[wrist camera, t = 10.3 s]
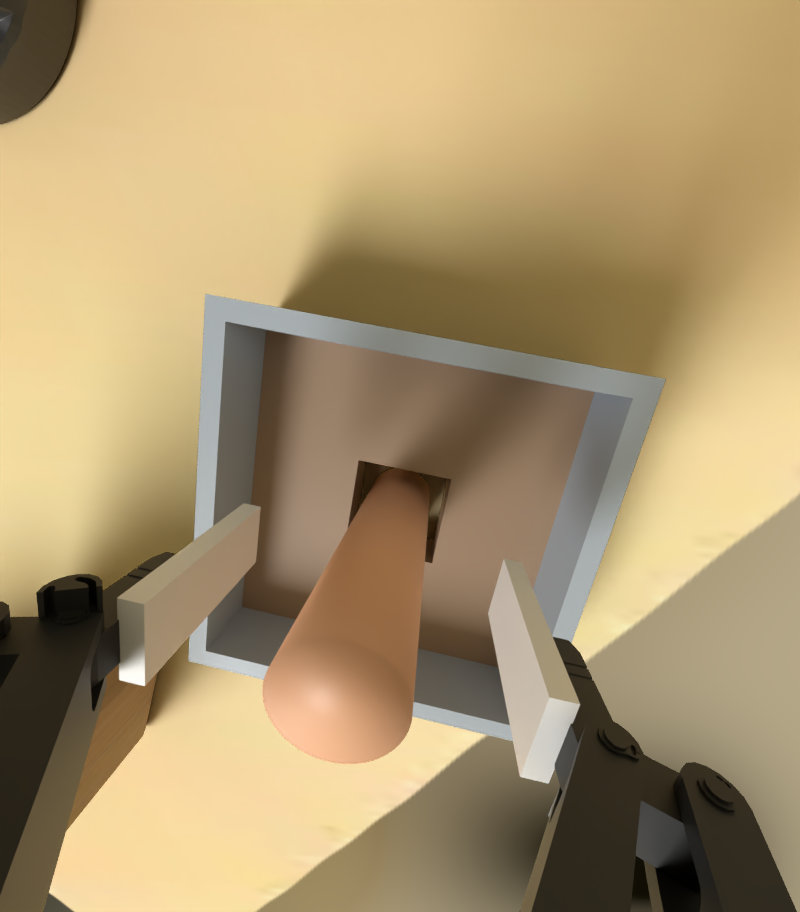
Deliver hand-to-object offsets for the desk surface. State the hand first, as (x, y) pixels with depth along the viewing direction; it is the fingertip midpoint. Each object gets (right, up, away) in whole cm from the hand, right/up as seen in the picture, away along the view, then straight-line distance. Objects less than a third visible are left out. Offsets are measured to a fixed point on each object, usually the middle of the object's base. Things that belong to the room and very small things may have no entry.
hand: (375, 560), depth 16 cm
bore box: (+1, +2, +9) cm, 9 cm away
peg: (+1, +2, +9) cm, 9 cm away
